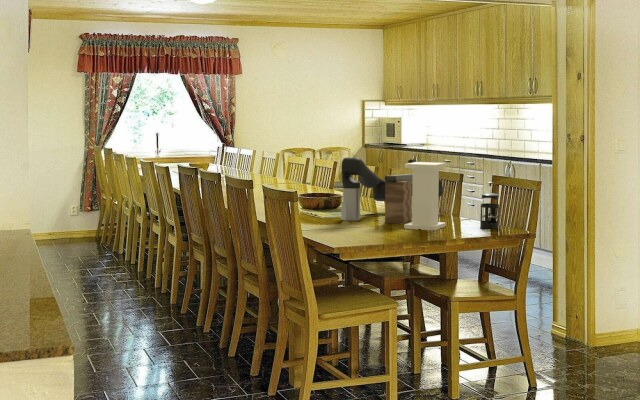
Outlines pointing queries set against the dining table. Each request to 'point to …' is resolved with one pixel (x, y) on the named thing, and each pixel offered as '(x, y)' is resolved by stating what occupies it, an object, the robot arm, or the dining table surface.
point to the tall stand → (425, 196)
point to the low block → (398, 201)
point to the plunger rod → (398, 177)
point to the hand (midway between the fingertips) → (411, 167)
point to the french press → (493, 223)
